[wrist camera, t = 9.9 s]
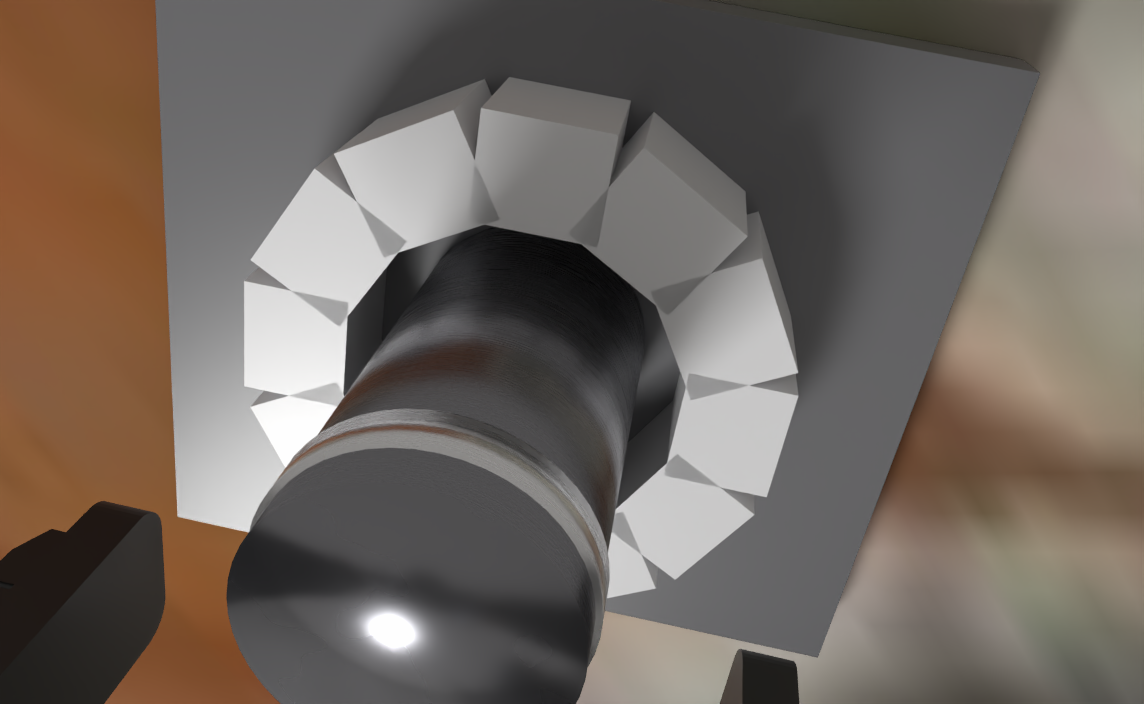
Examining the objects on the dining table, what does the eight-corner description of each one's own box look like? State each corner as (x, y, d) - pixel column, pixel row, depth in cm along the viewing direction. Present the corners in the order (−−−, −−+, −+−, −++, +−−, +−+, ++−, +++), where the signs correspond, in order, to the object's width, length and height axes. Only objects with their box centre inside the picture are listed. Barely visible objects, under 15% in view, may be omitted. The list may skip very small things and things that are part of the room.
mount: (1022, 59, 18) (1084, 106, 15) (814, 622, 25) (826, 737, 22) (183, -99, 19) (73, -87, 16) (200, 488, 25) (126, 580, 22)
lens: (673, 247, 19) (628, 531, 11) (625, 455, 22) (562, 807, 14) (426, 195, 20) (217, 437, 12) (406, 406, 22) (221, 724, 14)
